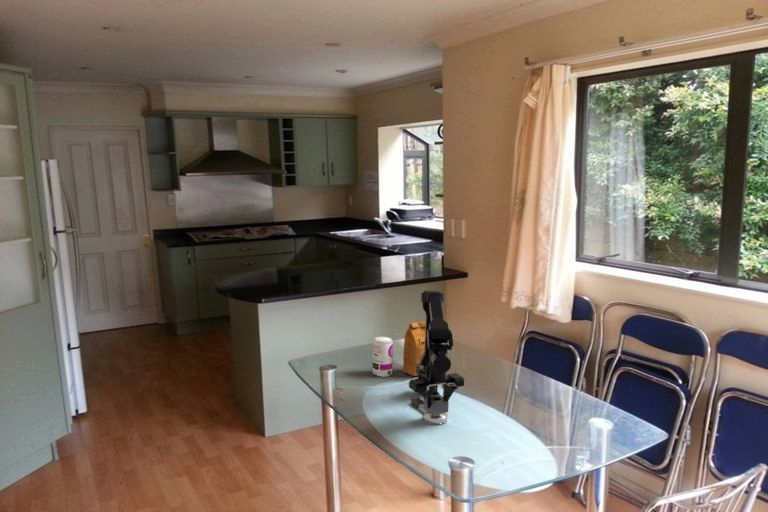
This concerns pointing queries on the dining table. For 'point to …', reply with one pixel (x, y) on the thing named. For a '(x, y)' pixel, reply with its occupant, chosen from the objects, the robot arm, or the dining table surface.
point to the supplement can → (382, 356)
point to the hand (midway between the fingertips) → (436, 406)
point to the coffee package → (413, 347)
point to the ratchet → (428, 416)
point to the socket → (437, 405)
